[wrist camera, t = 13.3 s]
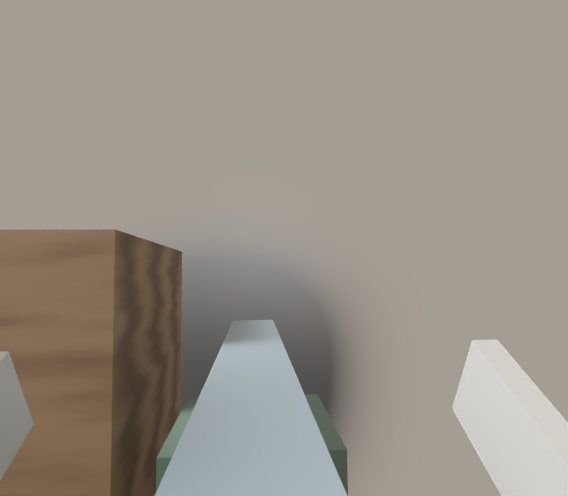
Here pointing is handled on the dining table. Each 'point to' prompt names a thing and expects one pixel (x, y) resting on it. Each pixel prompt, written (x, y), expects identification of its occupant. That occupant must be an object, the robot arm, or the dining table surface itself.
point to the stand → (91, 358)
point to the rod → (251, 427)
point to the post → (318, 411)
